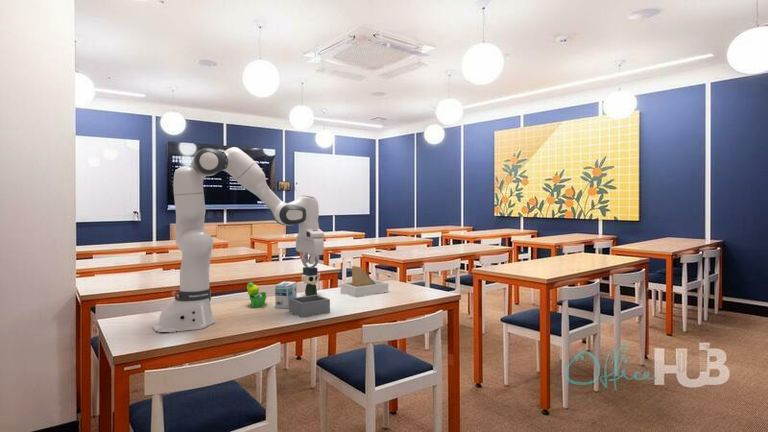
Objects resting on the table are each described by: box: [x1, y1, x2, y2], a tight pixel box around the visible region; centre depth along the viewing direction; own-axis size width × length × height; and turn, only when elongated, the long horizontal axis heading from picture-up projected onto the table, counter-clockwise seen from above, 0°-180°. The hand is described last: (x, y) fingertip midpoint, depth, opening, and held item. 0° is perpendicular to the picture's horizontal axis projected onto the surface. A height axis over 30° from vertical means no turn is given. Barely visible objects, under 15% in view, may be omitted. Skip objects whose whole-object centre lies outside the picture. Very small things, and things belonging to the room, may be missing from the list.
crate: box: [288, 294, 331, 319], centre depth 206 cm, size 14×12×6 cm
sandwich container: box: [351, 265, 376, 287], centre depth 249 cm, size 9×15×15 cm, turn 127°
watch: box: [300, 252, 320, 276], centre depth 206 cm, size 6×8×11 cm
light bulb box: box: [274, 280, 298, 309], centre depth 218 cm, size 11×7×11 cm, turn 169°
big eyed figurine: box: [301, 270, 321, 296], centre depth 241 cm, size 11×7×13 cm, turn 130°
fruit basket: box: [246, 282, 267, 309], centre depth 219 cm, size 11×9×11 cm
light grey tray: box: [340, 278, 389, 298], centre depth 249 cm, size 21×15×5 cm
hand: (309, 263), depth 205 cm, fingers closed on watch, 3 cm apart
